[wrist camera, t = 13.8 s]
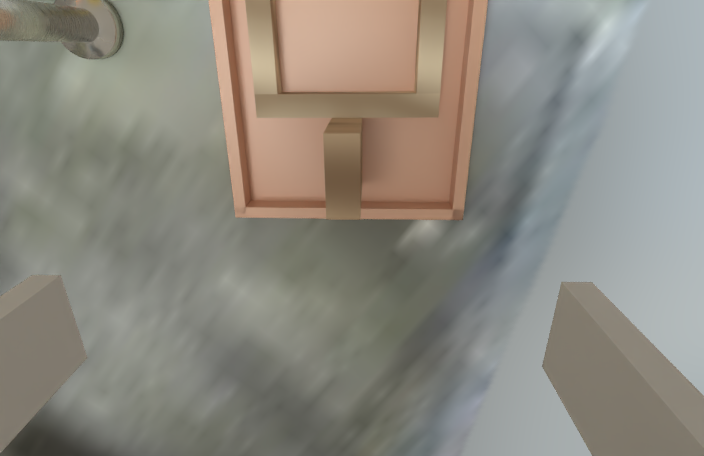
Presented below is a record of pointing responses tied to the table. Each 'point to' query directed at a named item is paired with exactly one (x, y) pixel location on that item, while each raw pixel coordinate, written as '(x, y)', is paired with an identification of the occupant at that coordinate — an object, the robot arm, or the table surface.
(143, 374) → the table surface
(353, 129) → the tan wooden piece
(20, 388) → the robot arm
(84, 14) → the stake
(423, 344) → the table surface
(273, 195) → the tray
